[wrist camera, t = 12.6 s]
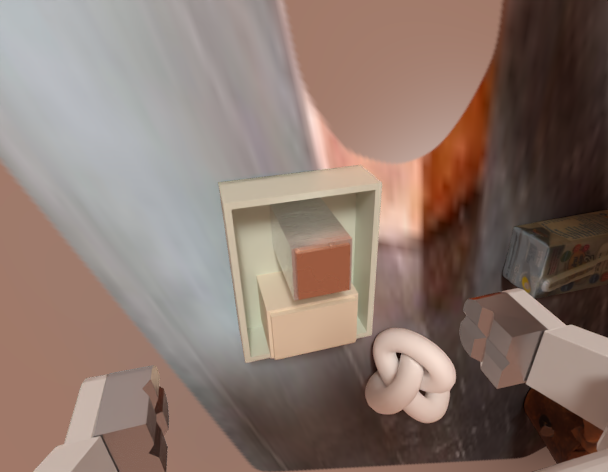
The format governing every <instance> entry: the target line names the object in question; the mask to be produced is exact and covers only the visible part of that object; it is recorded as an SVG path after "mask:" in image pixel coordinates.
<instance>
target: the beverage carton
mask: <svg viewBox="0 0 608 472" xmlns="http://www.w3.org/2000/svg"><path fill="white" fill-rule="evenodd" d="M503 276H504V277H505V278H506V279H508V280H509V281H510V282H511V283H512V284H514V285H515V286H516V287H518V288H520V289H523V290H525V291H526V292H527V293H528V294H529V295H531V296H532V297H533V298H534V299H536V298H541V297H547V296H551V295H556V294H563V293H568V292H572V291H578V290H582V289H587V288H592V287H597V286H603V285H607V284H608V210H603V211H597V212H591V213H585V214H580V215H574V216H569V217H563V218H557V219H551V220H546V221H540V222H535V223H531V224H525V225H520V226H515V227H514V228H513V233H512V237H511V242H510V246H509V249H508V253H507V257H506V261H505V265H504V269H503Z"/></svg>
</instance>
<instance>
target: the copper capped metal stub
mask: <svg viewBox="0 0 608 472" xmlns="http://www.w3.org/2000/svg"><path fill="white" fill-rule="evenodd" d="M269 205H270V217H271V228H272V240H273V249H274V251H275V254H276V256H277V259H278V261H279V264H280V266H281V269H282V271H283V274H284V276H285V279H286V281H287V284H288V286H289V289H290V291H291V294H292V296H293V299H294V301H295V300H301V299H306V298H311V297H316V296H321V295H327V294H332V293H337V292H342V291H347V290H351V268H352V238H351V236H350V235H349V234H348V233H347V231H346V230H345V229H344V227H343V226H342V225H341V223H340V222H339V221H338V220H337V218H336V217H335V216H334V214H333V213H332V212H331V211H330V209H329V208H328V207H327V205H326V204H325V203H324V201H323V200H322V199H321V198H320V197H319V198H312V199H305V200H298V201H290V202H283V203H276V204H269Z"/></svg>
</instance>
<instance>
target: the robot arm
mask: <svg viewBox="0 0 608 472" xmlns="http://www.w3.org/2000/svg"><path fill="white" fill-rule="evenodd" d="M463 311H464V312H465V314H466V315H467V316H466V317H465V319H464V320H463V321H462V322H461V324H460V331H459V334H460V338H461V342H462V344H463V346H464V348H465V350H466V351H467V353H468V354H469V355H470V357H472V358H474V359H476V360H478V361H480V362H481V370H482V371H483V373H484V374H485V375H486V376H487V378H488V379H489V380H490V381H491V382H492V384H493V385H494V386H495V387H496V389H499V388H503V387H508V386H512V385H516V384H521V383H525V382H526V384H527V385H528V386H530V387H532V388H533V389H535V390H537V391H538V392H540V393H542V394H543V395H545V396H547V397H548V398H550V399H552V400H553V401H555V402H557V403H558V404H560V405H562V406H563V407H565V408H567V409H568V410H570V411H572V412H573V413H575V414H577V415H578V416H580V417H582V418H583V419H585V420H587V421H588V422H590V423H591V424H593V425H595V426H596V427H598V428H600V429H601V430H603V431H604V432H603V433H602V435H601V437H600V439H599V441H598V443H597V451H598V452H594V453H591V454H588V455H585V456H582V457H578V458H575V459H572V460H569V461H565V462H562V463H559V464H556V465H553V466H550V467H546V468H543V469H540V470H537V471H533V472H608V338H607V337H604V336H601V335H598V334H596V333H593V332H590V331H588V330H585V329H582V328H579V327H577V326H574V325H567V326H566V325H565V324H564V323H563V322H562V321H560V320H559V319H558V318H557V317H556V316H554V315H553V314H552V313H551V312H550V311H548V310H547V309H546V308H545V307H544V306H542V305H541V304H540V303H539V302H538V301H536V300H535V299H534V298H533V297H532V296H531V295H529V294H528V293H527V292H526V291H525V290H523V289H520V288H515V289H511V290H506V291H502V292H497V293H493V294H488V295H484V296H479V297H475V298H470V299H468V300H467V301H466V302H465V305H464V309H463ZM159 379H160V376H159V373H158V370H157V368H156V366H148V367H142V368H137V369H132V370H126V371H121V372H115V373H110V374H107V375H102V376H96V377H91V378H86V379H85V380H84V382H83V383H82V385H81V387H80V391H79V395H78V398H77V401H76V405H75V408H74V412H73V415H72V418H71V422H70V425H69V429H68V432H67V436H66V439H65V443H64V445H60V446H56V447H55V449H54V450H53V451H52V452H51V453H50V454H49V455H48V456H47V457H46V458H45V459H44V461H43V462H42V463H41V464H40V465H39V466H38V467H37V468H36V469H35V470H34V471H33V472H166V466H167V448H168V447H167V444H166V441H165V439H164V435H165V434H166V432H167V431H168V428H169V426H168V425H169V415H168V403H167V398H166V394H165V391H164V389H163V388H161V387H160V386H159Z"/></svg>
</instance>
